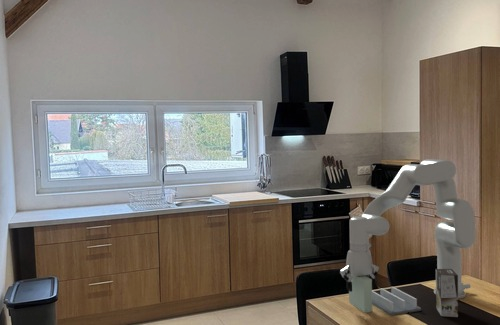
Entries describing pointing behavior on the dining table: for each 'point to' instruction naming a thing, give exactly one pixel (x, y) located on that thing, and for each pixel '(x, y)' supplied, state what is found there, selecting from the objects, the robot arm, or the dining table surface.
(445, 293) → the coffee box
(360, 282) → the upright sage green tile
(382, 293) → the dish rack
